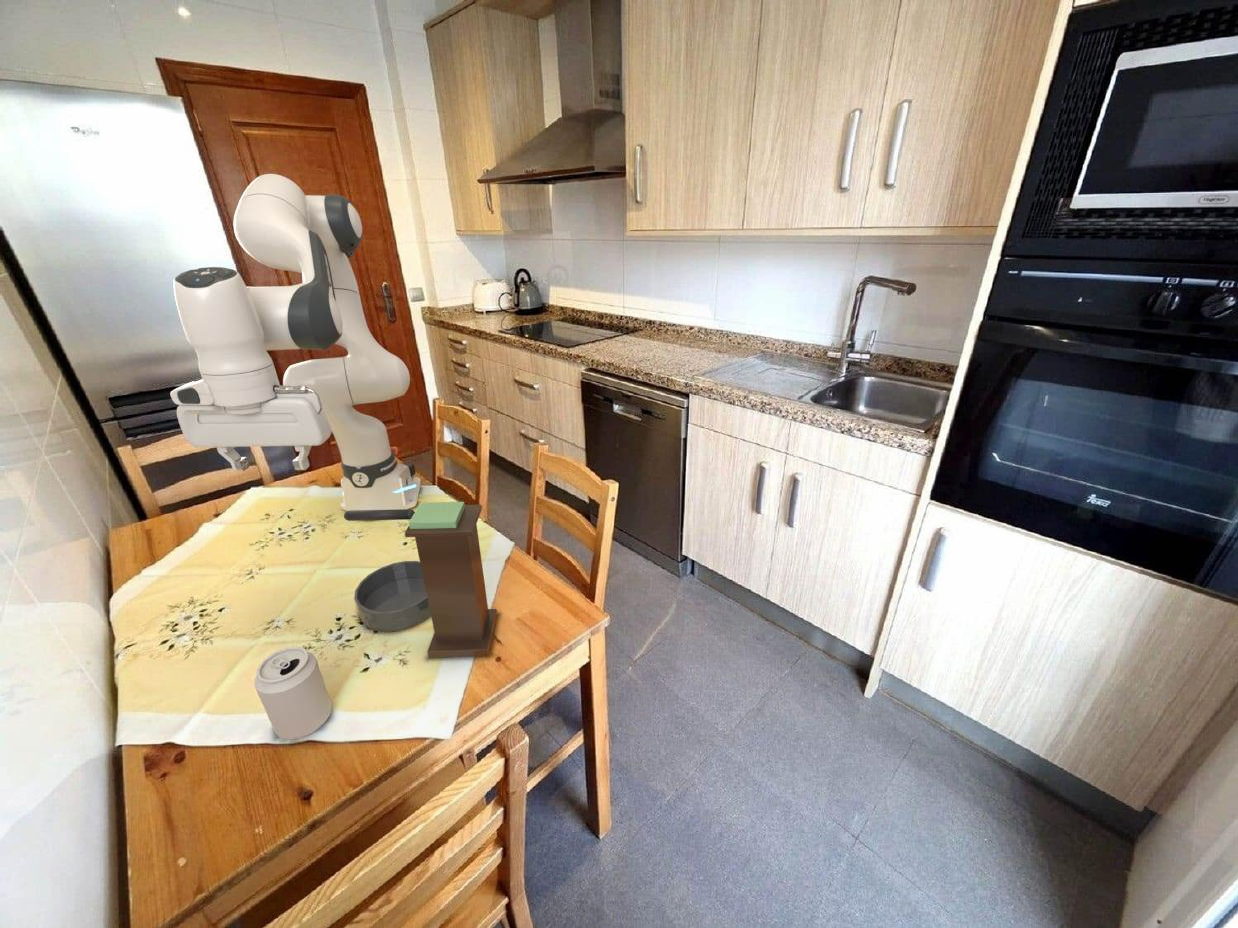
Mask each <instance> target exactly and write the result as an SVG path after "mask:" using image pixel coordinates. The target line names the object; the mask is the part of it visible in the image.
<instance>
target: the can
mask: <svg viewBox="0 0 1238 928" xmlns="http://www.w3.org/2000/svg"><path fill="white" fill-rule="evenodd" d="M253 682H254V688H255V690H256V693H257V695H258V697H259V699H260V702H261V704H262V706H263V708H264V710H265V712H266V715H267V717H268V720H269V722H270V725H271V726H272V728H273V731H274V733H275V734H276V736H277V737H278V738H281V739H283V740H295V739H296V740H297V739H300V738H303V737H306V736H308V735H311V734H312V733H314V732H316V731H317V730H318V729H320V728H321V726H323V724H325V722H327V720H328V718H329V717H330V715H331V713H332V710H333V704H332V699H331V696H330V694H329V691H328V688H327V685H326V682H325V680H324V677H323V674H322V670H321V669H320V666H319V664H318V660H317V657H316V656H315V654H314V653H313V652H310V651H309V650H307V649H306V648H305V647H301V646H289V647H284V648H281V649H278V650H277V651H275V652H273V653H271V654H269V655H268V656H267V657H265V658H264V659H263V660H262V661H261V663H260V664H259V665H258V667H257V669H256V676H255V678H254V681H253Z"/></svg>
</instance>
